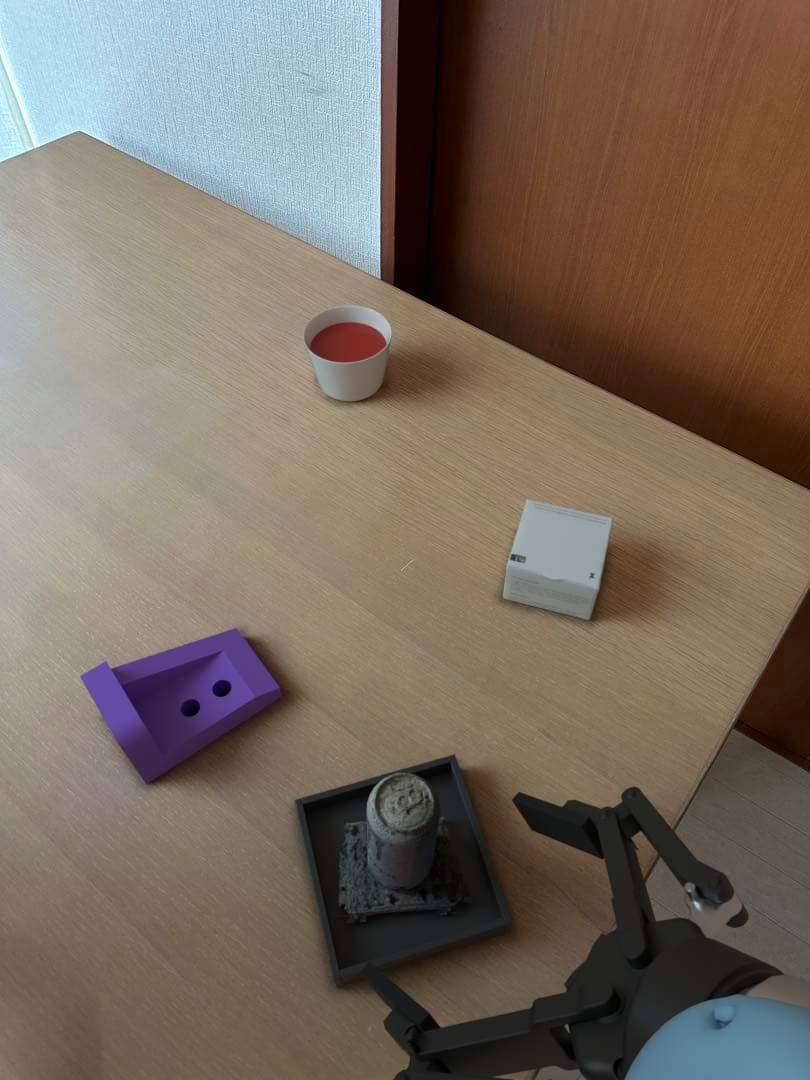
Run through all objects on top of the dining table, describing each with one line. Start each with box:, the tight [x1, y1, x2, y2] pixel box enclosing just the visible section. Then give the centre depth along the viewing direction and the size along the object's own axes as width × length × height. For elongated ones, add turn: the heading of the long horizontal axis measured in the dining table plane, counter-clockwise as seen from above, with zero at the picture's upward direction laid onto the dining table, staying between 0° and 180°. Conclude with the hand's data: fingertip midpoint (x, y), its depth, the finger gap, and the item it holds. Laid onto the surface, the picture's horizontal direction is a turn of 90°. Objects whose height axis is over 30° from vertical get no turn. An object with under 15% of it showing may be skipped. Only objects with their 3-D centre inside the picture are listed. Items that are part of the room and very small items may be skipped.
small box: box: [502, 498, 614, 621], centre depth 71 cm, size 8×8×5 cm
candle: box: [302, 304, 393, 402], centre depth 86 cm, size 9×9×6 cm
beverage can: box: [336, 773, 472, 924], centre depth 53 cm, size 9×8×12 cm
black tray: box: [294, 754, 513, 988], centre depth 58 cm, size 12×12×3 cm
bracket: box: [79, 627, 283, 785], centre depth 64 cm, size 12×7×7 cm, turn 127°
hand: (454, 891), depth 51 cm, fingers open, 13 cm apart
